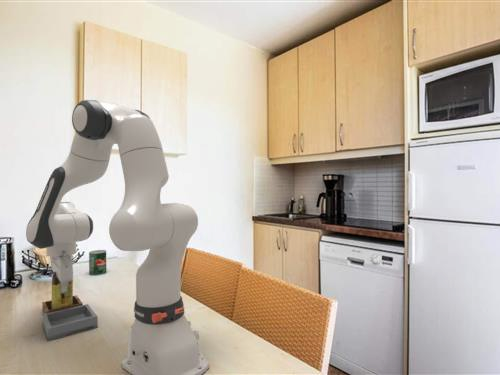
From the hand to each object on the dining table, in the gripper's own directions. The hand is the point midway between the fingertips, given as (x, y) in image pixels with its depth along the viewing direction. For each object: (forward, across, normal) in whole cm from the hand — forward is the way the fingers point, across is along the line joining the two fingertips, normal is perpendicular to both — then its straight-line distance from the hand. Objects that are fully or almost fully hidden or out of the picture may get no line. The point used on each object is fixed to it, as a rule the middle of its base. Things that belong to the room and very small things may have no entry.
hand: (62, 288), depth 107 cm
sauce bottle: (+9, 0, 0) cm, 9 cm away
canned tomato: (+9, +45, -22) cm, 51 cm away
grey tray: (+8, -14, 0) cm, 16 cm away
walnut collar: (+8, 0, 0) cm, 8 cm away
